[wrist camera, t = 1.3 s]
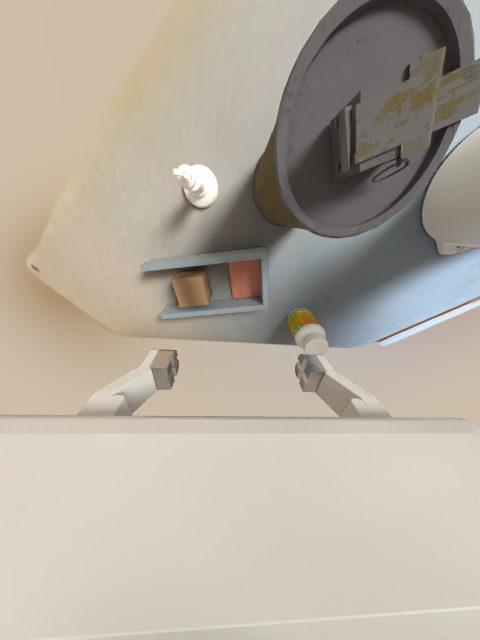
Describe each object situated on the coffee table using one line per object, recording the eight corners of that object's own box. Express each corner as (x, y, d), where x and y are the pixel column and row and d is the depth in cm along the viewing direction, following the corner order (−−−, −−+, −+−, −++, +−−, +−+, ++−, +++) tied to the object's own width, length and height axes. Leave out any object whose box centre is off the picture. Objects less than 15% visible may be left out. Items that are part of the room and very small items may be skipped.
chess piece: (214, 212, 26) (202, 210, 18) (182, 201, 25) (153, 194, 17) (221, 172, 24) (210, 148, 15) (185, 159, 23) (154, 126, 14)
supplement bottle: (290, 305, 35) (305, 333, 26) (315, 308, 35) (338, 336, 27) (283, 327, 38) (296, 358, 29) (307, 329, 38) (326, 360, 30)
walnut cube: (207, 268, 31) (201, 276, 26) (212, 293, 33) (208, 304, 29) (180, 270, 31) (170, 279, 27) (187, 295, 34) (180, 307, 29)
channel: (264, 246, 29) (267, 251, 25) (265, 300, 34) (268, 309, 31) (151, 259, 30) (139, 265, 26) (169, 309, 35) (161, 319, 32)
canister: (264, 236, 28) (302, 268, 11) (243, 155, 23) (255, -23, 6) (331, 209, 26) (506, 197, 9) (325, 115, 21) (707, -326, 4)
